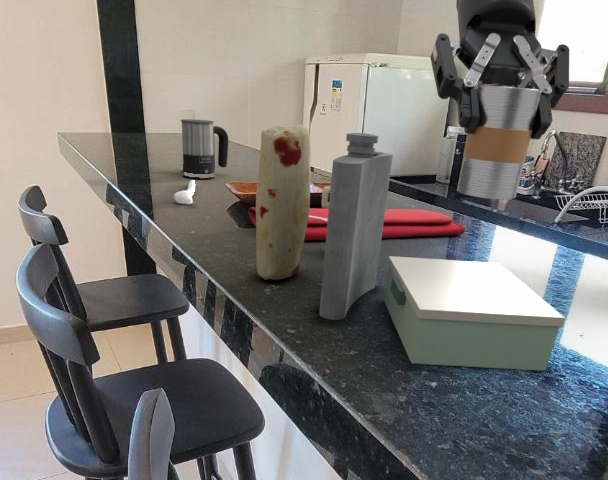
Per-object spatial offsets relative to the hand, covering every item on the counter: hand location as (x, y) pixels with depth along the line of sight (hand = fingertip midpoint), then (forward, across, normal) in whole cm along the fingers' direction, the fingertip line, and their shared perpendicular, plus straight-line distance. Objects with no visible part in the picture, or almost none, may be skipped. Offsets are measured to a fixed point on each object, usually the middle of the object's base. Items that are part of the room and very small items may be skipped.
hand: (506, 130), depth 52 cm
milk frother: (-59, -48, +91) cm, 119 cm away
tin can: (+3, 0, +6) cm, 7 cm away
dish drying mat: (-19, -7, +51) cm, 55 cm away
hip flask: (+9, -12, +22) cm, 27 cm away
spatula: (-38, -45, +70) cm, 91 cm away
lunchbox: (+15, 0, +16) cm, 22 cm away
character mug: (-5, -11, +36) cm, 38 cm away
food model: (+3, -22, +28) cm, 35 cm away
